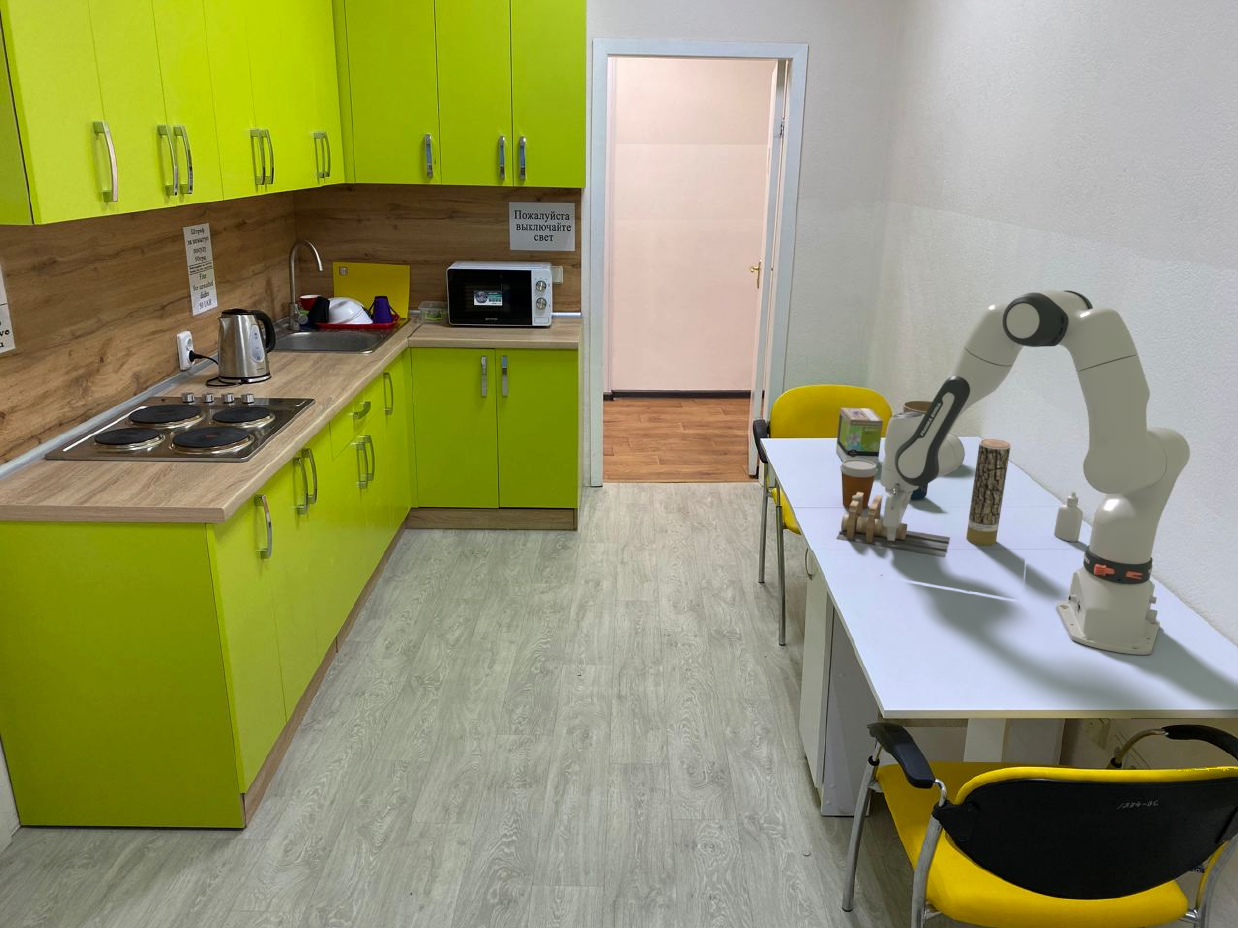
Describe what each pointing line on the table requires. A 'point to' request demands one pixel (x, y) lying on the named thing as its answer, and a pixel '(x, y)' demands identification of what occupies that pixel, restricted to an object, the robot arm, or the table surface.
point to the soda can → (919, 493)
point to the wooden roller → (878, 528)
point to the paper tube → (988, 491)
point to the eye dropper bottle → (1069, 520)
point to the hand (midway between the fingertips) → (894, 532)
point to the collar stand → (911, 543)
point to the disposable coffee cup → (857, 480)
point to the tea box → (859, 434)
